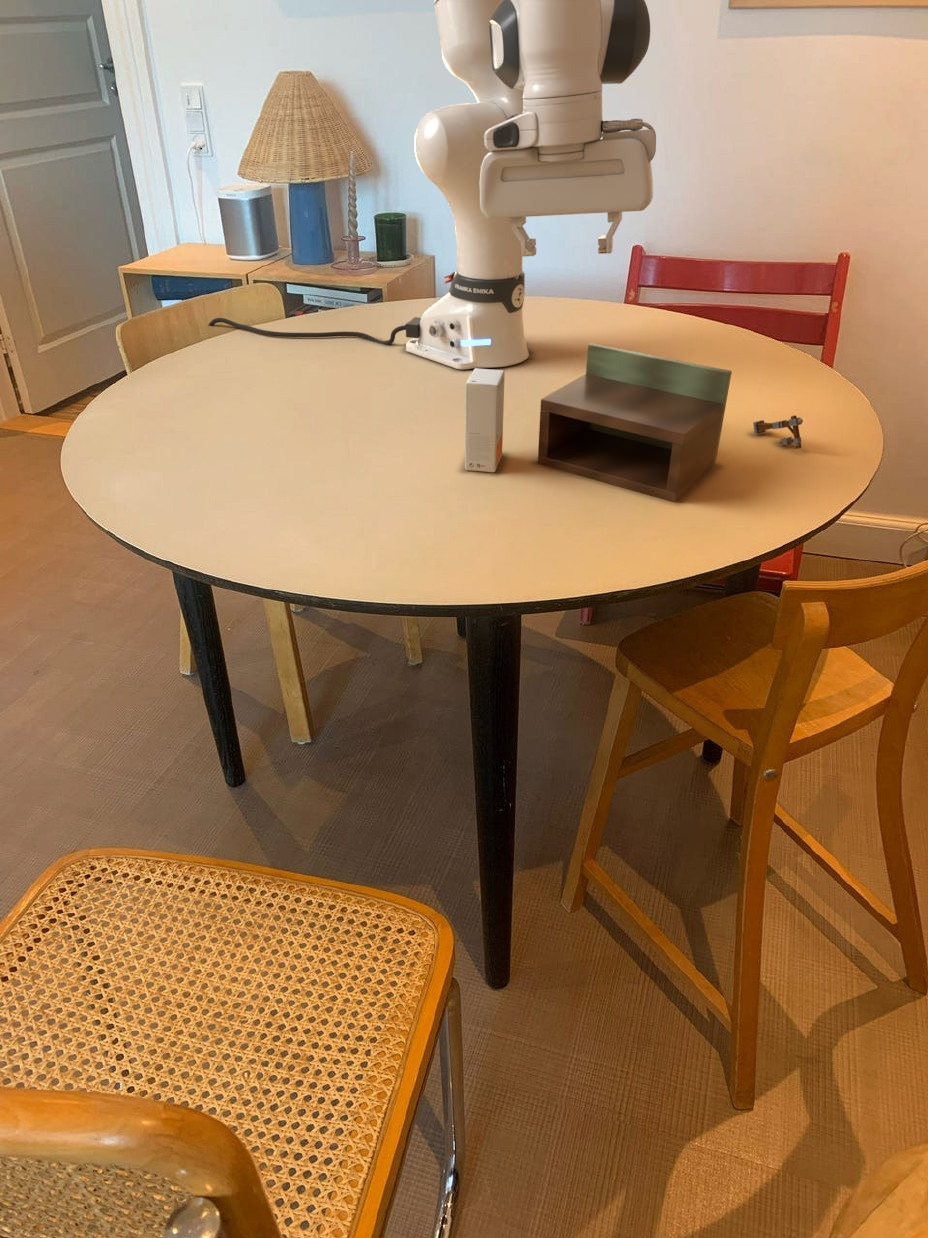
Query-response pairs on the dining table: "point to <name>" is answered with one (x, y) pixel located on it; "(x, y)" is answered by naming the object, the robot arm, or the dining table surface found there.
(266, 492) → the dining table surface
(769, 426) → the wooden post with brackets
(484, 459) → the cosmetic box
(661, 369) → the shelf
